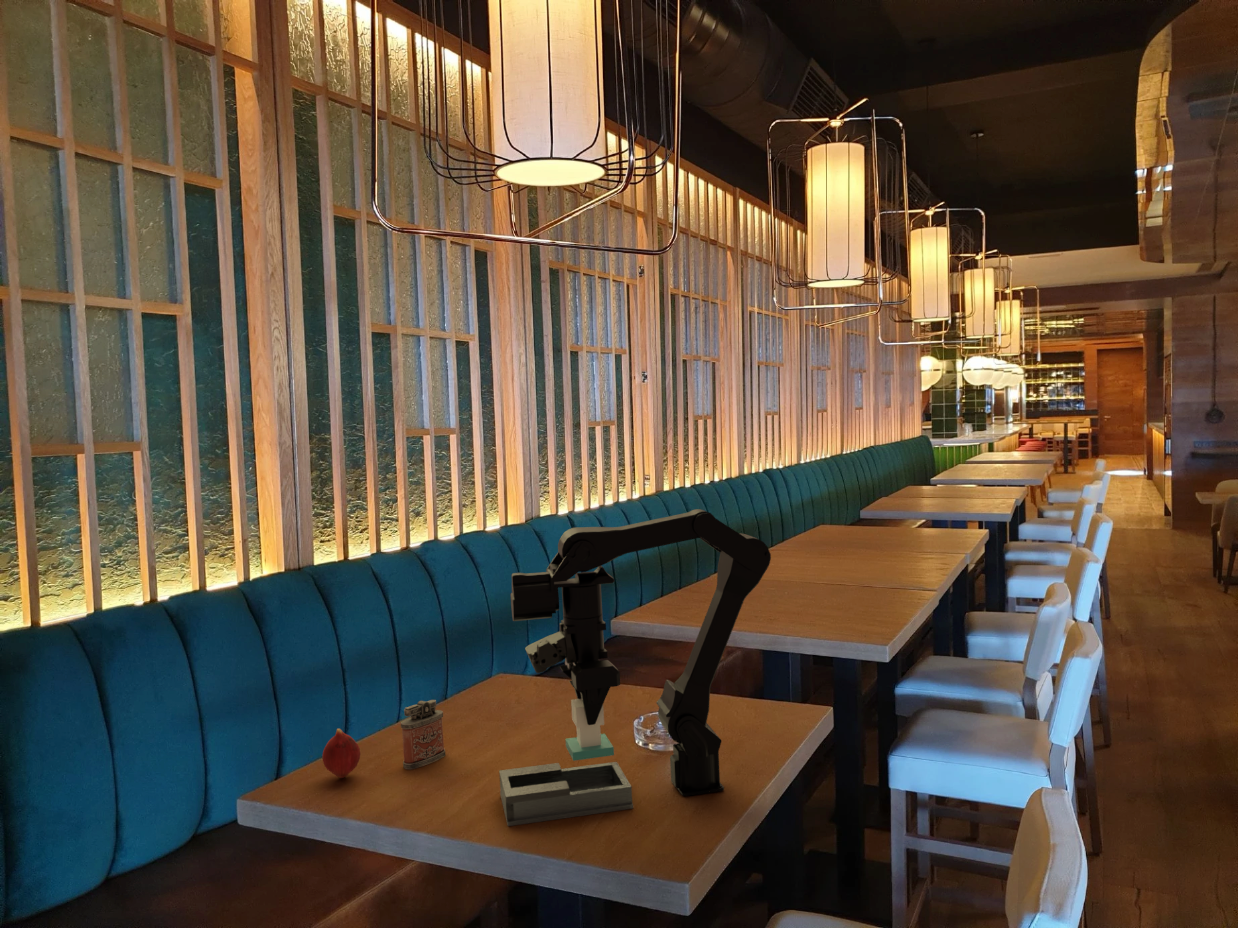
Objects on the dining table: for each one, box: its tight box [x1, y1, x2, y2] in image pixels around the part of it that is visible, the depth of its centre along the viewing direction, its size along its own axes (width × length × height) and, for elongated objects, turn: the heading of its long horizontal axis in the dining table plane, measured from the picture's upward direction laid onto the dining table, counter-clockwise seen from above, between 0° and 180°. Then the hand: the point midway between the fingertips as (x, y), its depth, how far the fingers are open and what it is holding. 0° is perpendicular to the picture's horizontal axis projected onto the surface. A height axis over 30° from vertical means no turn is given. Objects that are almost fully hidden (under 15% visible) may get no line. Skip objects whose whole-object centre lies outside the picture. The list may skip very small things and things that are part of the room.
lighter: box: [400, 699, 446, 770], centre depth 155 cm, size 8×3×10 cm, turn 141°
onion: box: [321, 728, 361, 779], centre depth 149 cm, size 6×6×8 cm
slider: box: [565, 698, 615, 762], centre depth 136 cm, size 6×6×7 cm
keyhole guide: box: [499, 761, 634, 827], centre depth 136 cm, size 18×11×4 cm, turn 102°
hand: (588, 719), depth 136 cm, fingers closed on slider, 4 cm apart
